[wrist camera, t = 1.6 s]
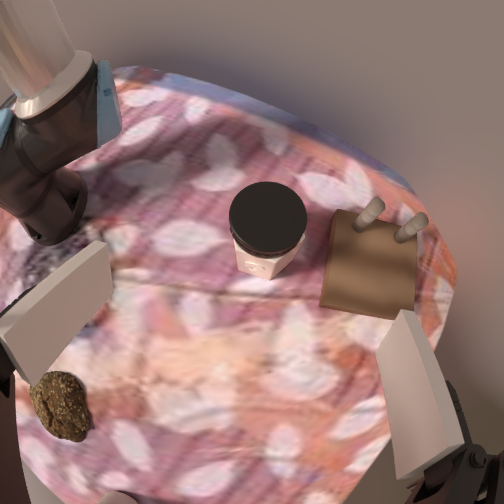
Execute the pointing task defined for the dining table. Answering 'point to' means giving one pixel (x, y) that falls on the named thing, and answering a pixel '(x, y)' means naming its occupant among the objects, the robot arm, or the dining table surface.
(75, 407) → the bread roll
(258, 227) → the jar
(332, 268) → the peg stand
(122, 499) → the can
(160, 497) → the dining table surface
